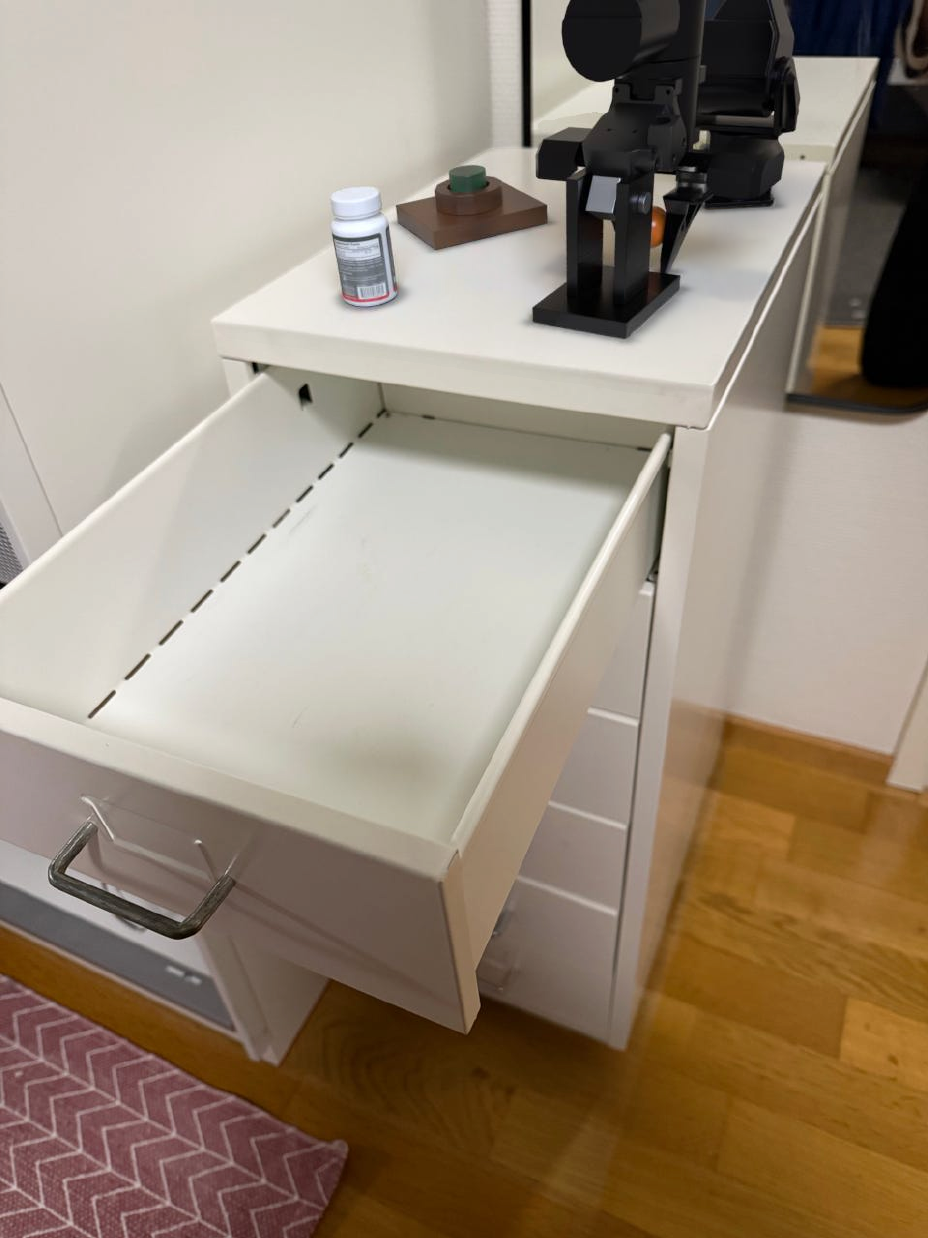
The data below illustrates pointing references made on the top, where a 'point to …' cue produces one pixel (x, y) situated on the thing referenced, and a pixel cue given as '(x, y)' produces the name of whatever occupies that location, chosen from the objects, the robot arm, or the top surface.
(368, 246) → the pill bottle
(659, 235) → the switch lever
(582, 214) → the switch bracket
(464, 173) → the button
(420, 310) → the top surface
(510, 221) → the button block
